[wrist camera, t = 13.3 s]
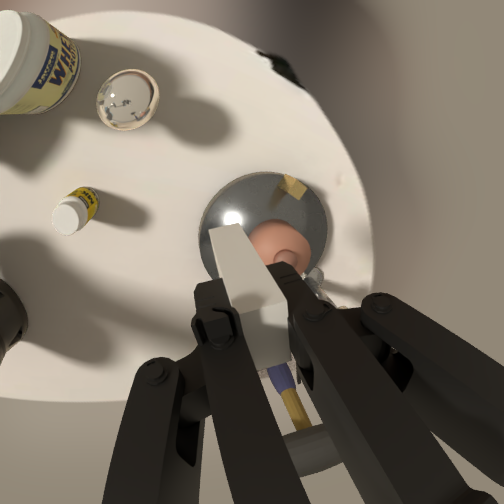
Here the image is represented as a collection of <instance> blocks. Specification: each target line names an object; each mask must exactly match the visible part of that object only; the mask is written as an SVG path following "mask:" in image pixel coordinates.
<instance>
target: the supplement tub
mask: <svg viewBox="0 0 504 504" xmlns="http://www.w3.org/2000/svg"><path fill="white" fill-rule="evenodd" d="M80 67H81V56H80V51H79V49H78V46H77V45H76V43H75V42H74V41H73V40H72V39H70V38H69V37H67V36H66V35H64V34H63V33H62V32H60V31H59V30H57V29H56V28H55V27H53V26H52V25H51V24H49V23H48V22H47V21H45V20H44V19H43V18H42V17H40V16H38V15H36V14H33V13H29V12H21V13H19V12H15V11H13V10H4V11H1V12H0V114H40V113H44V112H46V111H48V110H50V109H52V108H54V107H55V106H57V105H58V104H59V103H61V102H62V101H63V100H64V99H65V98H66V97H67V96H68V94H69V93H70V92H71V90H72V89H73V87H74V85H75V83H76V81H77V79H78V76H79V72H80Z"/></svg>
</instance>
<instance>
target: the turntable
mask: <svg viewBox="0 0 504 504" xmlns="http://www.w3.org/2000/svg"><path fill="white" fill-rule="evenodd" d="M270 219H280V220H284V221H286V222H288V223H289V224H290V225H291V226H293V227H294V228H295V229H296V230H297V231H298V232H299V233H300V234H301V235H302V236H303V237H304V238H305V239H306V240H307V241H308V243H309V245H310V249H311V257H310V261H309V264H308V266H307V268H306V270H305V271H304V272H303V273H302V274H301V275H300V276H301V277H302V280H303V279H304V278H305V277H306V276H307V275H308V274H309V273H310V272H311V271H312V270H313V268H314V267H315V265H316V264H317V263H318V261H319V259H320V257H321V255H322V252H323V250H324V247H325V243H326V238H327V219H326V215H325V211H324V209H323V206H322V204H321V202H320V200H319V199H318V197H317V196H316V195H315V194H314V192H313V191H312V190H311V189H309V188H308V187H307V186H306V185H304V184H303V183H301V182H300V181H298V180H297V179H295V178H293V177H291V176H289V175H287V174H285V175H284V174H281V173H275V172H256V173H251V174H248V175H244V176H242V177H239V178H237V179H235V180H233V181H232V182H230V183H228V184H227V185H226V186H224V187H223V188H222V189H221V190H220V191H219V192H218V193H217V194H216V195H215V196H214V197H213V198H212V200H211V201H210V202H209V204H208V206H207V207H206V209H205V211H204V213H203V216H202V218H201V222H200V226H199V234H198V239H199V248H200V253H201V258H202V261H203V264H204V267H205V268H206V270H207V272H208V274H209V275H210V276H211V278H212V279H213V280H215V279H219V278H220V277H219V273H218V269H217V265H216V260H215V256H214V252H213V248H212V243H211V239H210V234H209V229H213V228H218V227H222V226H226V225H230V224H234V223H239V224H240V226H241V227H242V229H243V231H244V232H245V234H246V235H247V237H249V235H250V233H251V231H252V230H253V229H254V228H255V227H256V226H257V225H258V224H260V223H262V222H264V221H266V220H270Z"/></svg>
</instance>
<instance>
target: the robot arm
mask: <svg viewBox="0 0 504 504" xmlns="http://www.w3.org/2000/svg"><path fill="white" fill-rule="evenodd" d="M209 234H210V239H211V243H212V248H213V252H214V256H215V260H216V265H217V269H218V273H219V277H220V278H219V279H215V280H211V281H207V282H203V283H199V284H197V286H196V288H195V290H194V299H195V306H196V314H195V316H194V317H193V318H192V322H191V327H192V330H193V333H194V335H195V338H196V340H197V343H198V346H197V347H196V349H195V350H194V351H193V352H192V353H191V354H189V355H188V356H186V357H184V358H182V359H180V360H178V361H176V362H175V361H173V360H171V359H170V358H165V357H158V358H153V359H151V360H149V361H147V362H145V363H144V364H143V365H142V366H140V367H139V369H138V371H137V373H136V375H135V378H134V381H133V384H132V387H131V390H130V394H129V397H128V400H127V404H126V407H125V410H124V414H123V417H122V421H121V425H120V428H119V432H118V435H117V440H116V443H115V447H114V451H113V455H112V459H111V463H110V467H109V472H108V476H107V481H106V485H105V490H104V495H103V500H102V504H199V489H200V474H201V461H202V450H203V438H204V427H205V418H206V417H208V416H210V415H212V418H213V423H214V427H215V432H216V436H217V441H218V445H219V449H220V453H221V457H222V461H223V465H224V468H225V473H226V476H227V480H228V484H229V487H230V491H231V494H232V498H233V501H234V504H311V503H310V501H309V499H308V496H307V494H306V492H305V490H304V488H303V485H302V483H301V480H300V478H299V476H298V473H297V471H296V469H295V466H294V464H293V461H292V459H291V457H290V454H289V452H288V449H287V447H286V444H285V442H284V440H283V437H282V435H281V432H280V430H279V427H278V425H277V422H276V420H275V417H274V415H273V412H272V409H271V407H270V404H269V402H268V399H267V396H266V394H265V391H264V389H263V386H262V384H261V380H260V378H259V375H258V372H257V371H260V370H263V369H266V368H270V367H273V366H276V365H279V364H282V363H285V362H289V361H292V358H291V352H292V354H293V356H294V358H295V360H296V372H297V382H298V384H300V383H301V380H302V382H303V384H304V386H305V388H306V390H307V392H308V394H309V396H310V398H311V400H312V402H313V404H314V406H315V408H316V410H317V412H318V414H319V416H320V418H321V420H322V422H323V424H324V426H325V428H326V430H327V432H328V434H329V436H330V438H331V439H332V441H333V443H334V445H335V447H336V449H337V451H338V453H339V455H340V457H341V459H342V461H343V463H344V465H345V467H346V468H347V470H348V472H349V474H350V476H351V478H352V480H353V482H354V484H355V486H356V487H357V489H358V491H359V493H360V495H361V497H362V499H363V501H364V502H365V504H498V503H497V501H496V500H495V499H494V498H493V497H492V496H491V495H490V494H488V493H486V492H484V491H478V490H473V489H472V488H470V487H469V486H468V485H467V484H466V482H465V481H464V479H463V478H462V476H461V475H460V473H459V472H458V470H457V469H456V467H455V466H454V464H453V463H452V461H451V460H450V459H449V457H448V456H447V454H446V453H445V451H444V450H443V448H442V447H441V446H440V444H439V443H438V441H437V440H436V439H435V437H434V436H433V434H432V433H431V432H433V433H434V434H435V435H436V436H438V437H439V438H440V439H441V440H443V441H444V442H445V443H446V444H447V445H449V446H450V447H451V448H452V449H453V450H455V451H456V452H457V453H458V454H460V455H461V456H462V457H463V458H465V459H466V460H467V461H469V462H470V463H471V464H472V465H473V466H475V467H476V468H477V469H479V470H480V471H481V472H482V473H484V474H485V475H486V476H488V477H489V478H490V479H491V480H493V481H494V482H496V483H498V484H499V485H500V486H503V487H504V366H502V365H501V364H499V363H498V362H496V361H495V360H493V359H492V358H490V357H489V356H487V355H486V354H484V353H483V352H481V351H480V350H478V349H477V348H475V347H474V346H472V345H471V344H469V343H468V342H466V341H465V340H463V339H461V338H460V337H458V336H457V335H455V334H454V333H452V332H450V331H449V330H448V329H446V328H445V327H443V326H441V325H440V324H438V323H437V322H435V321H433V320H432V319H430V318H429V317H427V316H425V315H424V314H422V313H420V312H419V311H417V310H416V309H414V308H412V307H411V306H409V305H408V304H406V303H404V302H402V301H401V300H399V299H398V298H396V297H394V296H392V295H390V294H388V293H372V294H370V295H368V296H366V297H365V298H364V299H363V300H362V304H361V307H358V308H349V309H336V308H335V306H333V305H332V304H331V303H330V302H327V301H325V300H319V299H318V298H317V297H316V295H315V294H314V293H313V291H312V290H311V289H310V288H309V286H308V285H307V284H306V282H305V281H304V280H302V277H301V276H300V275H299V274H298V272H297V271H296V270H295V268H294V267H293V266H292V265H290V264H288V263H286V262H284V261H281V262H277V263H273V264H269V265H265V264H264V263H263V261H262V259H261V258H260V256H259V255H258V253H257V251H256V250H255V248H254V247H253V245H252V243H251V242H250V240H249V239H248V237H247V235H246V234H245V232H244V231H243V229H242V227H241V226H240V224H239V223H234V224H230V225H226V226H222V227H218V228H213V229H209ZM27 326H28V320H27V315H26V311H25V309H24V306H23V304H22V303H21V301H20V299H19V298H18V296H17V295H16V294H15V292H14V291H13V290H12V289H11V288H10V287H9V286H8V285H7V284H6V283H5V282H3V281H2V280H0V365H1V363H2V360H3V358H4V356H5V354H6V352H7V351H8V350H10V349H11V348H12V347H13V346H14V345H15V344H17V343H18V342H19V341H20V340H21V339H22V338H23V336H24V334H25V332H26V330H27ZM392 347H393V348H394V349H393V348H392ZM395 349H396V350H395ZM430 431H431V432H430Z"/></svg>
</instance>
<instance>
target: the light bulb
mask: <svg viewBox="0 0 504 504" xmlns="http://www.w3.org/2000/svg"><path fill="white" fill-rule="evenodd" d="M159 98H160V94H159V88H158V85H157V83H156V81H155V80H154V78H153V77H152V76H151V75H149V74H148V73H146V72H144V71H142V70H138V69H126V70H122V71H119V72H117V73H115V74H113V75H112V76H110V77H109V78H108V79H107V80H106V81H105V82H104V83H103V85H102V86H101V88H100V90H99V92H98V95H97V100H96V107H97V112H98V115H99V117H100V119H101V120H102V121H103V122H104V123H105V124H106V125H107V126H109V127H111V128H113V129H116V130H121V131H127V130H132V129H135V128H138V127H140V126H142V125H143V124H145V123H146V122H147V121H148V120H149V119H150V118H151V117H152V116H153V115H154V113H155V111H156V109H157V107H158V104H159Z"/></svg>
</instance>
